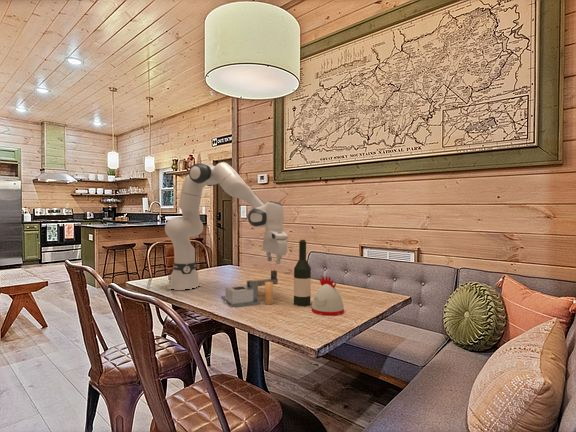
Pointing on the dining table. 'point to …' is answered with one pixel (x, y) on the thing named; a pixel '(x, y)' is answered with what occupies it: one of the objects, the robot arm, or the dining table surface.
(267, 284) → the orange rounded cylinder
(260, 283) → the crank handle
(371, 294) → the dining table surface
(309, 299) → the wine bottle
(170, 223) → the robot arm
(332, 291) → the kitchen timer
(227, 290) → the mount
